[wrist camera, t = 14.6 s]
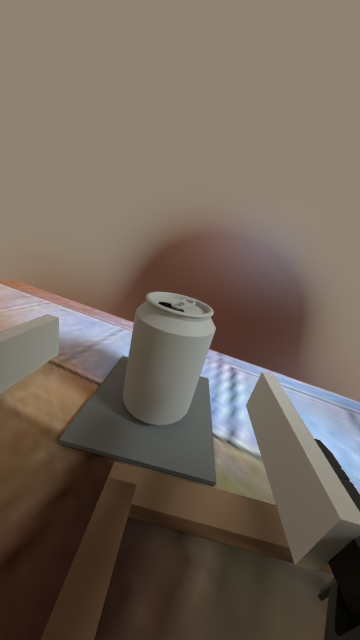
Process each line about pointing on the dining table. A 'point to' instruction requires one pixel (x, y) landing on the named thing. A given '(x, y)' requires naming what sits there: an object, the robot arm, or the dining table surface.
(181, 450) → the charcoal mat
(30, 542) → the dining table surface
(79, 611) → the brown u-shaped frame
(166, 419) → the can
